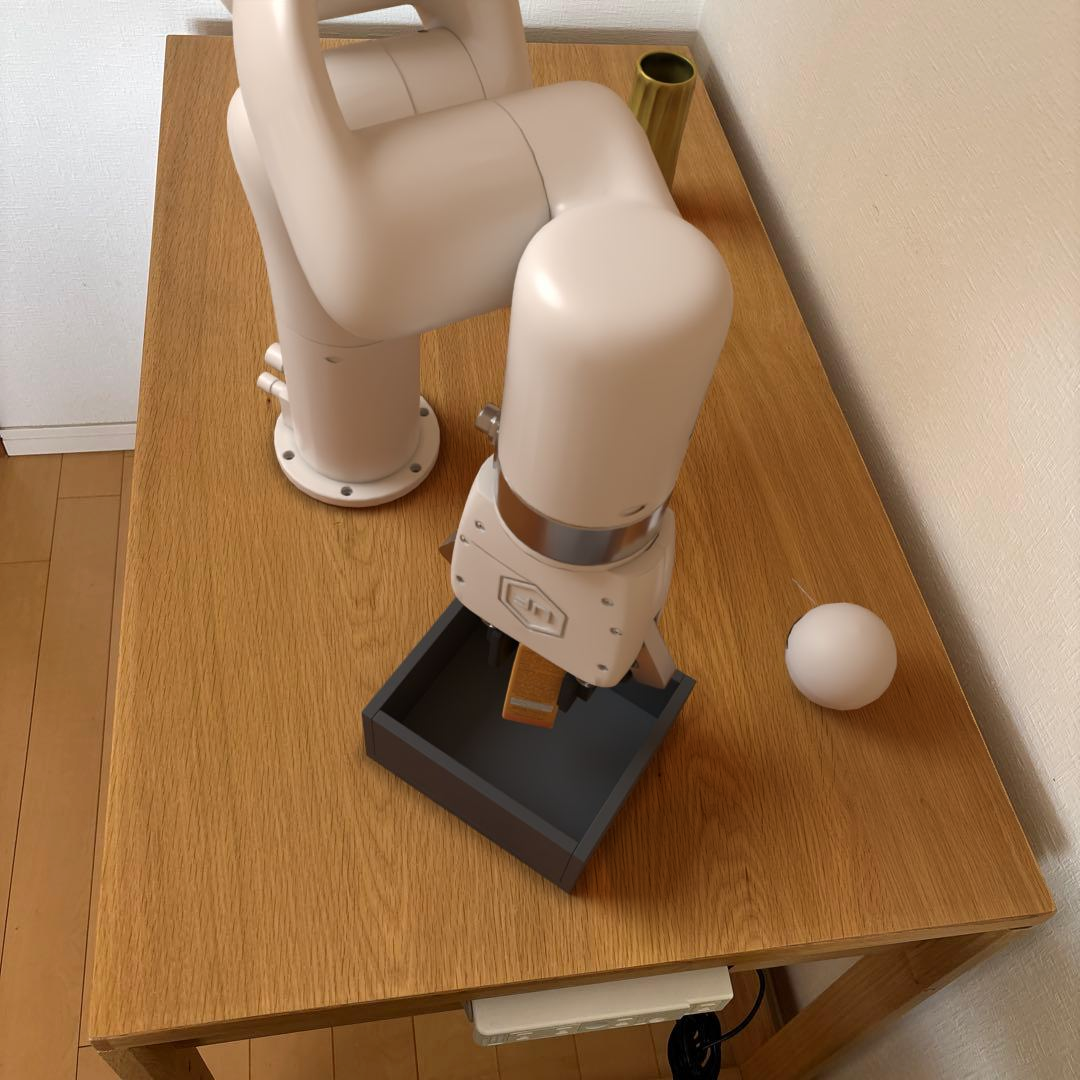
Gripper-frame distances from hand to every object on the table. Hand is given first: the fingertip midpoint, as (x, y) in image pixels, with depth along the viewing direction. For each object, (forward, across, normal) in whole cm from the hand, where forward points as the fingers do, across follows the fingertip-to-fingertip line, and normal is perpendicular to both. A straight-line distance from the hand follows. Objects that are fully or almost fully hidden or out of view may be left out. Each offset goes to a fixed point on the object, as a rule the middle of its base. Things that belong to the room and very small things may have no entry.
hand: (541, 668), depth 59 cm
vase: (+11, -21, +52) cm, 57 cm away
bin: (+11, 0, 0) cm, 11 cm away
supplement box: (+5, 0, 0) cm, 5 cm away
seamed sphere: (+11, +14, +17) cm, 25 cm away
